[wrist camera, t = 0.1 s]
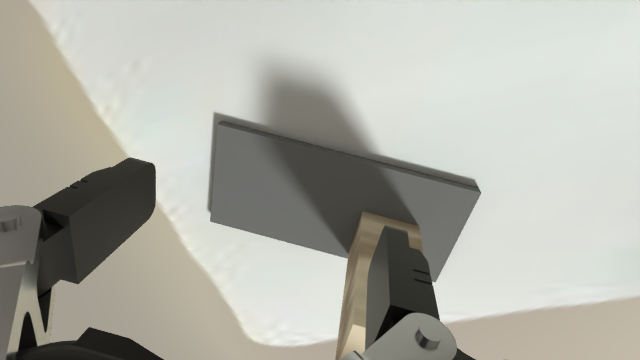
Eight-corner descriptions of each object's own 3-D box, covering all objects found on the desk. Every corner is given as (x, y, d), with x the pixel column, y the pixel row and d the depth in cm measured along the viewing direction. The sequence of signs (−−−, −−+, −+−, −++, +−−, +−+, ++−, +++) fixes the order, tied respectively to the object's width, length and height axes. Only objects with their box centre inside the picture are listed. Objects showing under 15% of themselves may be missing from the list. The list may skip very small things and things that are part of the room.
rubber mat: (221, 121, 30) (217, 124, 29) (478, 188, 29) (481, 193, 28) (213, 216, 35) (210, 221, 34) (434, 276, 34) (435, 282, 33)
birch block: (362, 211, 31) (353, 324, 20) (419, 226, 31) (438, 347, 20) (348, 254, 33) (333, 375, 23) (400, 268, 33) (409, 396, 22)
